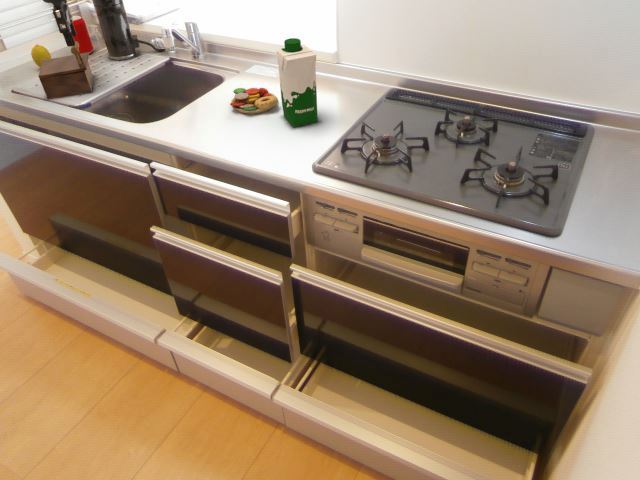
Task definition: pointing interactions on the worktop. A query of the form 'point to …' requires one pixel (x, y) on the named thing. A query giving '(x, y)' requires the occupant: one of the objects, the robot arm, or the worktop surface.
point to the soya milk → (298, 82)
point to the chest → (68, 84)
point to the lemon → (40, 54)
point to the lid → (65, 63)
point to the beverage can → (82, 35)
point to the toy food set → (253, 100)
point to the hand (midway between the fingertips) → (72, 40)
